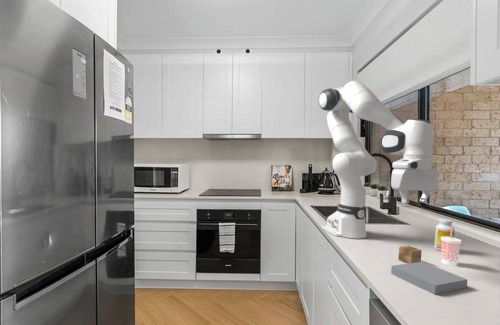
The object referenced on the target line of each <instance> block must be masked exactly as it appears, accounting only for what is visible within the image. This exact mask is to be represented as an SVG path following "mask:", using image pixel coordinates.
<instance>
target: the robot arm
mask: <svg viewBox="0 0 500 325" xmlns="http://www.w3.org/2000/svg"><path fill="white" fill-rule="evenodd" d="M318 104H319V107H320V109H321V110H323V111H327V112H328V113H327V114H326V122H327V127H328V130H329V133H330V136H331V138H332V141H333V144H334V146H335V148H336V149H337V150H338V151H340V153H338V154H336V155H335V156H333V159H332V162H331V163H332V168H333V170H334V172H335V173H336V175H337V176H338V180H339V185H340V202H339V204H336V207H337V209H336V210H335V212H333V213H332V214H330V215H329V216H328V217H327V219H326V224H323V225H321V229H322V230H325V231H326V232H327V233H330V234H331V235H333V236H334V237H335V236H336V237H343V238H347V239H348V238H350V239H365V238H367V237H368V236H367V230H366V229H367V228H366V217H365V216H366V214H367V213H366V212H367V208H366V199H367V198H366V197H367V195H366V194H367V193H366V192H367V191H366V188H365V186H364V185H363V183H362V178H361V177H366V176H369V175H371V174H374V172H375V171H376V170H377V168H378V163H377V159H375V157H373V155H371V154H370V153H369V152H368V150H367V149H366V148H365V146H364V144H362V142H361V141H360V139H359V137H358V135H357V133H356V130H355V129H354V126H353V124H352V122H351V119H350V117H349V115H350V113H351V114H354V115H356V117H358V118H360V120H364V121H369V122H372V123H375V124H377V125H380V126H382V127H383V128H385V129H386V131H384V132H383V133H382V135H381V136H380V139H379V146H380V149H381V151H383V152H384V153H386V154H389V155H397V156H403V157H402V158H401V159H398V160H396V161H393V162H392V166H391V167H392V168H393V169H392V171H391V172H392V173H391V178H390V186H391V188H392V190H395V191H399V195H400V197H401V203H402V204H409V203H410V201H409V200H410V198H408V195H407V194H408V192H409V191H421V193H422V194H421V197H419V203H422V204H426V203H427V202H428V198H429V196H430V194H431V191H437V190H438V189H439V174H438V171H437V168H436V167H435V165H433V164H432V162H433V153H432V148H433V146H434V127H433V123H432V122H431V121H430V120H425V119H419V118H410V119H407V120H406V121H405V122H404V121H403V120H401V119H400V117H398V116H397V115H396V114H395V113H394V112H393V111H391V110H390V109H389V108H388V107H387V106H386V105H385V104H384V103H383V102H382V101H381V99H379V98H378V97H377V96H376V95H375V94H374V92H372V90H371V89H370V88H369V87H368V86H367V85H365V84H364V83H362V82H360V81H358V80H350V81H349V82H347V83H346V84H345V85H344V86H343V87H342V86H341V87H334V88H326V89H324V90H322V91H321V92H320V94H319V96H318Z"/></svg>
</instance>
